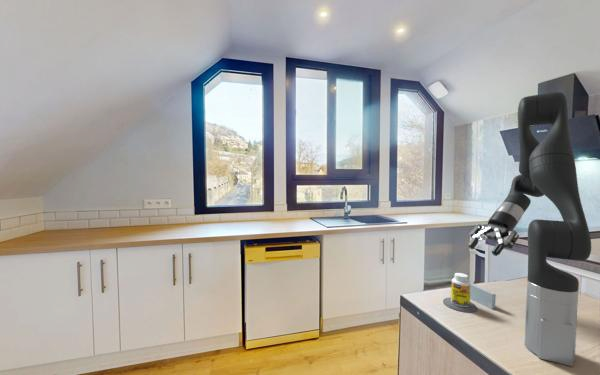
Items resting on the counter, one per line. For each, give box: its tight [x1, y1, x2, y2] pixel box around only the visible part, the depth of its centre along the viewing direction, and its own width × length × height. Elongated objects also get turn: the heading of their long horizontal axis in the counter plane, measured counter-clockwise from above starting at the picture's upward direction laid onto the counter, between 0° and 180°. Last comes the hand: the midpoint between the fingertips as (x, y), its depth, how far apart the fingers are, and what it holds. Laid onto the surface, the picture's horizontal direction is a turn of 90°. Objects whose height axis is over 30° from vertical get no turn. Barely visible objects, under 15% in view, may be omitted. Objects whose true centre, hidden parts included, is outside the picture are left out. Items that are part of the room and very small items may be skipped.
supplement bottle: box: [450, 272, 472, 307], centre depth 90 cm, size 6×6×10 cm
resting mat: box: [442, 297, 478, 313], centre depth 91 cm, size 10×10×1 cm
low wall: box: [470, 282, 497, 310], centre depth 93 cm, size 10×2×5 cm, turn 15°
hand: (481, 250), depth 93 cm, fingers open, 8 cm apart
